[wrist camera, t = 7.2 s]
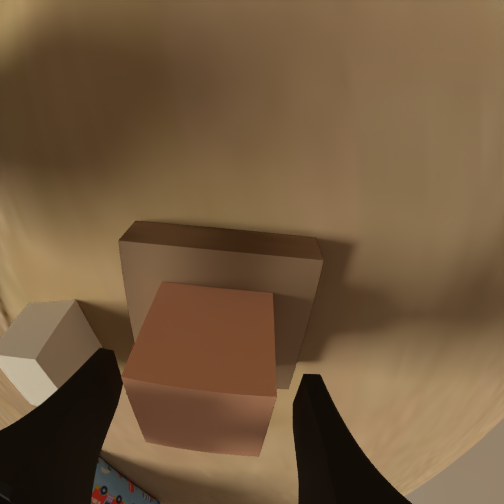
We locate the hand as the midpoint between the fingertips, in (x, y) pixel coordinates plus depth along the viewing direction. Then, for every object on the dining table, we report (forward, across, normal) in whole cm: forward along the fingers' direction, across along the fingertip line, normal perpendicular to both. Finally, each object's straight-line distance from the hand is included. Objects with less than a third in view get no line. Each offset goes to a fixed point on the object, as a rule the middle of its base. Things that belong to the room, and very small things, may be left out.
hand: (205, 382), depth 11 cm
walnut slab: (+6, 0, 0) cm, 6 cm away
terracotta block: (+3, 0, 0) cm, 3 cm away
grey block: (+5, +10, +4) cm, 12 cm away
